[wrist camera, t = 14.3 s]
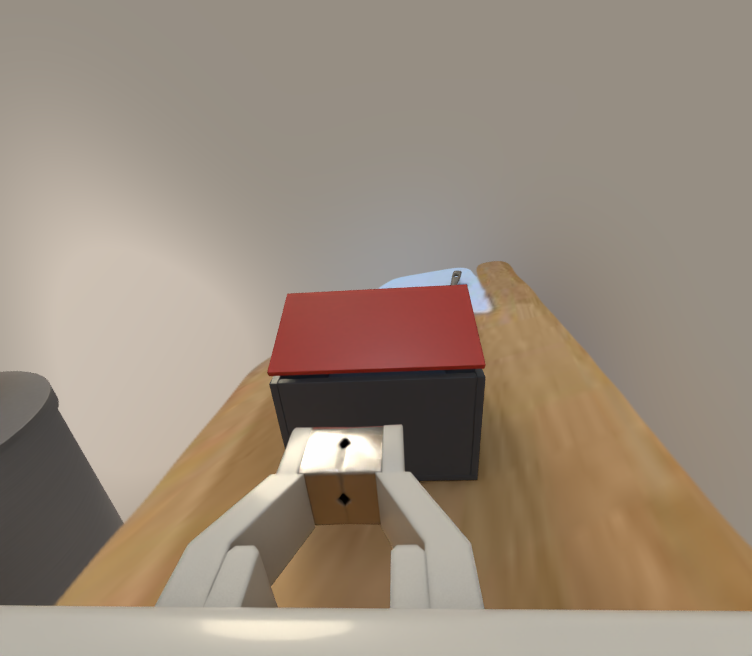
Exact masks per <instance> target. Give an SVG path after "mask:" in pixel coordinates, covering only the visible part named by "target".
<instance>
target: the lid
mask: <svg viewBox="0 0 752 656" xmlns="http://www.w3.org/2000/svg"><path fill="white" fill-rule="evenodd" d="M484 368H485V360H484V356H483V352H482V347H481V343H480V339H479V334H478V330H477V326H476V322H475V317H474V313H473V309H472V304H471V300H470V296H469V291H468V287H467V285H446V286H427V287H407V288H388V289H368V290H349V291H331V292H310V293H291V294H287V297H286V302H285V305H284V309H283V313H282V317H281V321H280V325H279V329H278V333H277V336H276V340H275V344H274V348H273V352H272V356H271V360H270V364H269V368H268V372H267V373H268V375H269V376H285V375H313V374H342V373H371V372H399V371H428V370H457V369H484Z"/></svg>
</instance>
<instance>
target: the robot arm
mask: <svg viewBox="0 0 752 656" xmlns="http://www.w3.org/2000/svg"><path fill="white" fill-rule="evenodd" d="M335 524H372V525H381V527H382V529H383V531H384V533H385V535H386V536H387V538H388V540H389V542H390V544H391V546H392V547H393V550H392V551H391V586H390V608H278V606H277V603H276V601H275V598H274V595H273V592H272V589H271V586H272V584H273V583H274V582H275V580H276V579H277V578H278V576H279V575H280V574H281V572H282V571H283V570H284V568H285V567H286V566H287V564H288V563H289V562H290V561H291V559H292V558H293V557H294V555H295V554H296V553H297V551H298V550H299V549H300V547H301V546H302V545H303V543H304V542H305V541H306V539H307V538H308V537H309V535H310V534H311V533H312V531H313V530H314V529H315V525H335ZM0 656H752V611H669V610H536V609H484V604H483V599H482V595H481V590H480V585H479V580H478V575H477V570H476V566H475V561H474V556H473V551H472V546H471V543H470V542H469V540H468V539H467V538H466V537H465V536H464V534H463V533H462V532H461V531H460V530H459V529H458V527H457V526H456V525H455V524H454V523H453V521H452V520H451V519H450V518H449V517H448V516H447V514H446V513H445V512H444V511H443V510H442V509H441V507H440V506H439V505H438V504H437V503H436V501H435V500H434V499H433V498H432V497H431V496H430V494H429V493H428V492H427V491H426V490H425V488H424V487H423V486H422V485H421V484H420V483H419V481H418V480H417V479H416V478H415V477H414V476H413V474H412V473H411V472H405V460H404V441H403V426H402V424H401V425H384V426H362V427H313V428H295V429H294V430H293V431H292V433H291V436H290V438H289V441H288V444H287V446H286V449H285V452H284V454H283V457H282V460H281V462H280V465H279V468H278V470H277V473H276V474H270V475H269V476H268V477H267V478H266V479H265V480H263V481H262V482H261V483H260V484H259V485H257V486H256V487H255V488H254V489H253V490H252V491H250V492H249V493H248V494H247V495H246V496H244V497H243V498H242V499H241V500H240V501H238V502H237V503H236V504H235V505H234V506H233V507H231V508H230V509H229V510H228V511H227V512H225V513H224V514H223V515H222V516H221V517H220V518H218V519H217V520H216V521H215V522H214V523H212V524H211V525H210V526H209V527H208V528H206V529H205V530H204V531H203V532H202V533H201V534H199V535H198V536H197V537H196V538H195V539H193V540H192V541H191V542H190V543H189V544H188V545H187V547H186V549H185V551H184V553H183V555H182V556H181V558H180V560H179V562H178V564H177V566H176V568H175V570H174V571H173V573H172V575H171V577H170V579H169V581H168V583H167V584H166V586H165V588H164V590H163V592H162V594H161V596H160V597H159V599H158V601H157V603H156V605H155V607H121V606H0Z"/></svg>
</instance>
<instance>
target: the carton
mask: <svg viewBox="0 0 752 656" xmlns="http://www.w3.org/2000/svg"><path fill="white" fill-rule="evenodd" d="M269 385H270V389H271V393H272V397H273V401H274V405H275V410H276V414H277V418H278V422H279V426H280V430H281V434H282V439H283V443H284V447H285V449H286V446H287V444H288V441H289V438H290V436H291V433H292V431H293V430H294V429H295V428H313V427H362V426H384V425H401V424H402V426H403V441H404V460H405V472H411V473H412V474H413V476H414V477H415V478H416V479H417V480H418V481H430V480H477V478H478V465H479V452H480V440H481V427H482V414H483V401H484V389H485V375H484V372H483V370H482V369H457V370H428V371H399V372H371V373H342V374H313V375H285V376H273V378H272V380H271V382H270V384H269Z"/></svg>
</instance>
